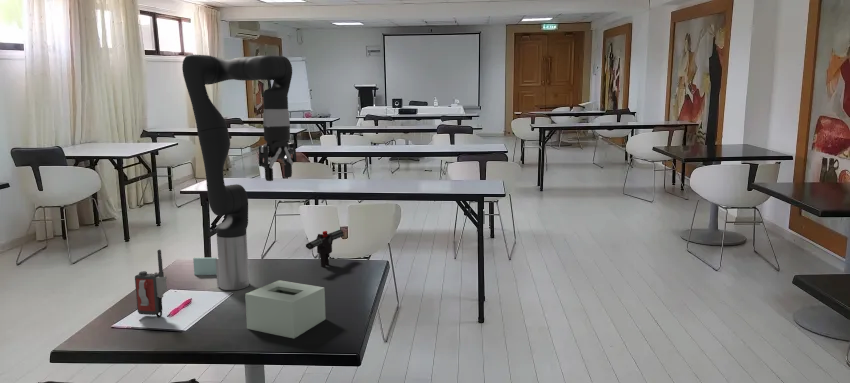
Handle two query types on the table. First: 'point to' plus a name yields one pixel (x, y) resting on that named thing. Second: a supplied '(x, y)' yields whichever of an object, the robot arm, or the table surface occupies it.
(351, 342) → the table surface
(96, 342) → the table surface
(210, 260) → the right angle wall
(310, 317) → the box
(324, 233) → the black tube on stand
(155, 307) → the walkie-talkie
